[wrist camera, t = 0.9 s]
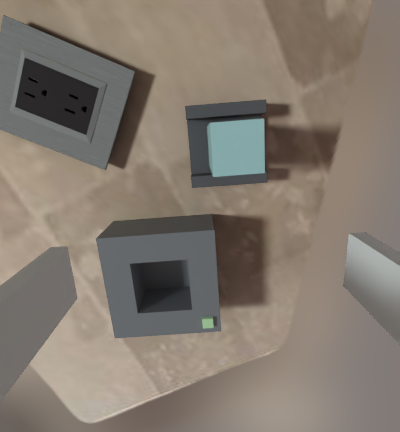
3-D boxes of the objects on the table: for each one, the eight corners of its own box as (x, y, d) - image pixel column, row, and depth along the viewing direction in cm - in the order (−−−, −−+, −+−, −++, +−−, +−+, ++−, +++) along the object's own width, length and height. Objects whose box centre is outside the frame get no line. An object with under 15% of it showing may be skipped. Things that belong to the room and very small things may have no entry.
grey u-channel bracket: (186, 108, 30) (185, 105, 27) (259, 102, 30) (266, 98, 27) (192, 184, 32) (192, 188, 30) (260, 179, 32) (267, 183, 29)
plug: (205, 127, 30) (209, 122, 20) (243, 124, 30) (264, 117, 20) (208, 165, 31) (212, 177, 21) (244, 162, 31) (265, 173, 21)
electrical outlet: (139, 75, 30) (134, 70, 27) (111, 167, 32) (104, 170, 30) (17, 23, 28) (1, 14, 26) (-2, 124, 31) (-18, 123, 29)
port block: (113, 221, 34) (94, 240, 27) (211, 214, 33) (214, 231, 27) (128, 306, 37) (113, 340, 31) (217, 300, 37) (221, 333, 31)
